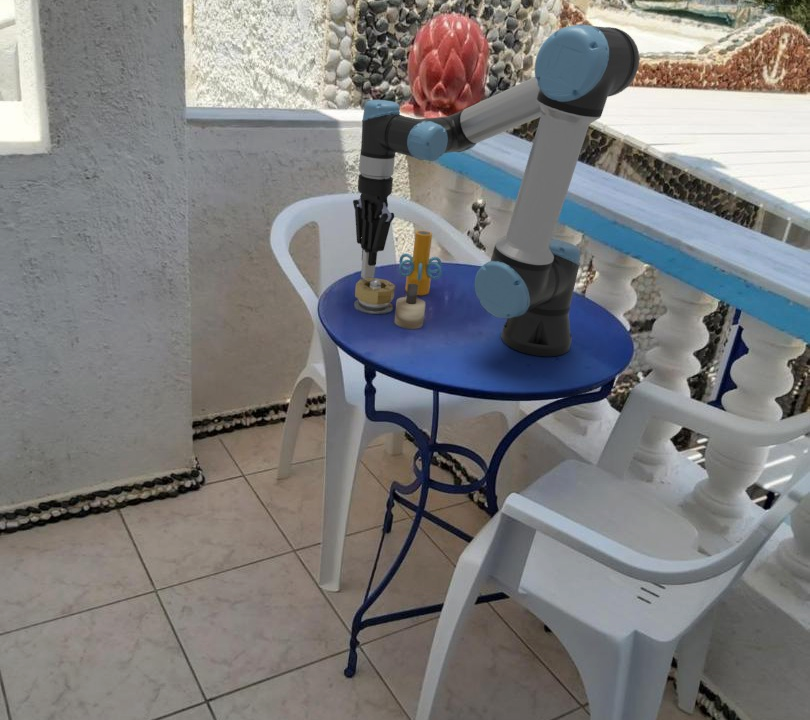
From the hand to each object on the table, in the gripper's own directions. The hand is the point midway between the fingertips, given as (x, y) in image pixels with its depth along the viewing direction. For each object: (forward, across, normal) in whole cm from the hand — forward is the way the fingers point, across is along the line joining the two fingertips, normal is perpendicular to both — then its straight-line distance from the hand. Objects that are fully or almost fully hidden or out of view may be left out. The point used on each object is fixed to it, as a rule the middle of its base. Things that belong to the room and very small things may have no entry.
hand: (367, 276), depth 178 cm
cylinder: (+6, +1, -16) cm, 17 cm away
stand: (+6, -14, -2) cm, 16 cm away
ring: (+4, -3, 0) cm, 5 cm away
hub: (+6, -3, 0) cm, 7 cm away
